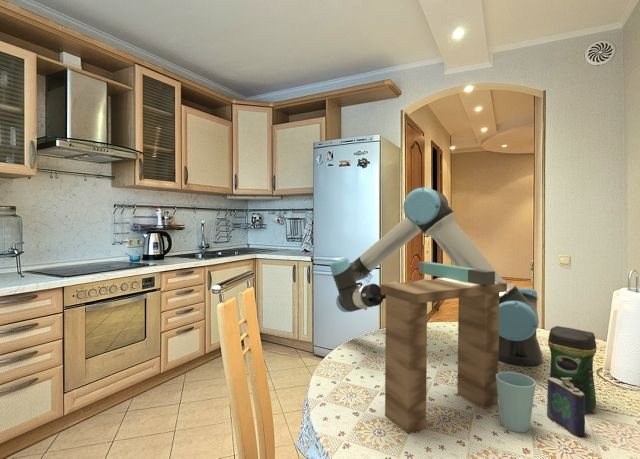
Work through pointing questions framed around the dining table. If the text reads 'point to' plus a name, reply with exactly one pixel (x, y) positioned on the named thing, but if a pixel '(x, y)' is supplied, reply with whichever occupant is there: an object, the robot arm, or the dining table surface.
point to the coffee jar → (574, 360)
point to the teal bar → (458, 273)
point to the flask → (566, 406)
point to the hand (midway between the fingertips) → (412, 284)
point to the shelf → (411, 345)
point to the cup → (515, 400)
